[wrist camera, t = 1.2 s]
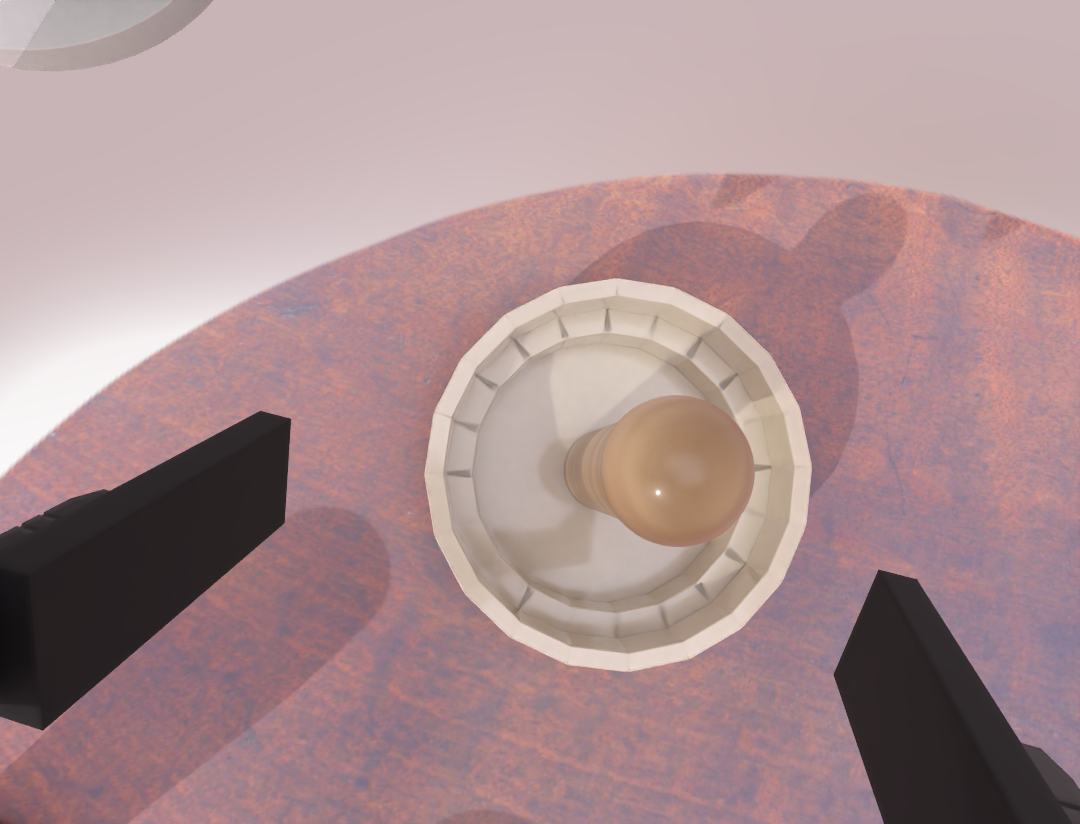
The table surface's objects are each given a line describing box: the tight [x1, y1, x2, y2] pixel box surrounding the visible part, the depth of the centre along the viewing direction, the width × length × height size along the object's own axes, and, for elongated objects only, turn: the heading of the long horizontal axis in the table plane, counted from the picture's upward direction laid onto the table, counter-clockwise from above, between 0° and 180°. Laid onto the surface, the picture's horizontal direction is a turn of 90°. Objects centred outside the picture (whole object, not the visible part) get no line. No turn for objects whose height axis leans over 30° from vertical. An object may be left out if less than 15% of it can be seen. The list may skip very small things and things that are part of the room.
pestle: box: [564, 395, 755, 547], centre depth 26 cm, size 5×5×15 cm
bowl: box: [424, 278, 812, 672], centre depth 31 cm, size 17×17×6 cm
